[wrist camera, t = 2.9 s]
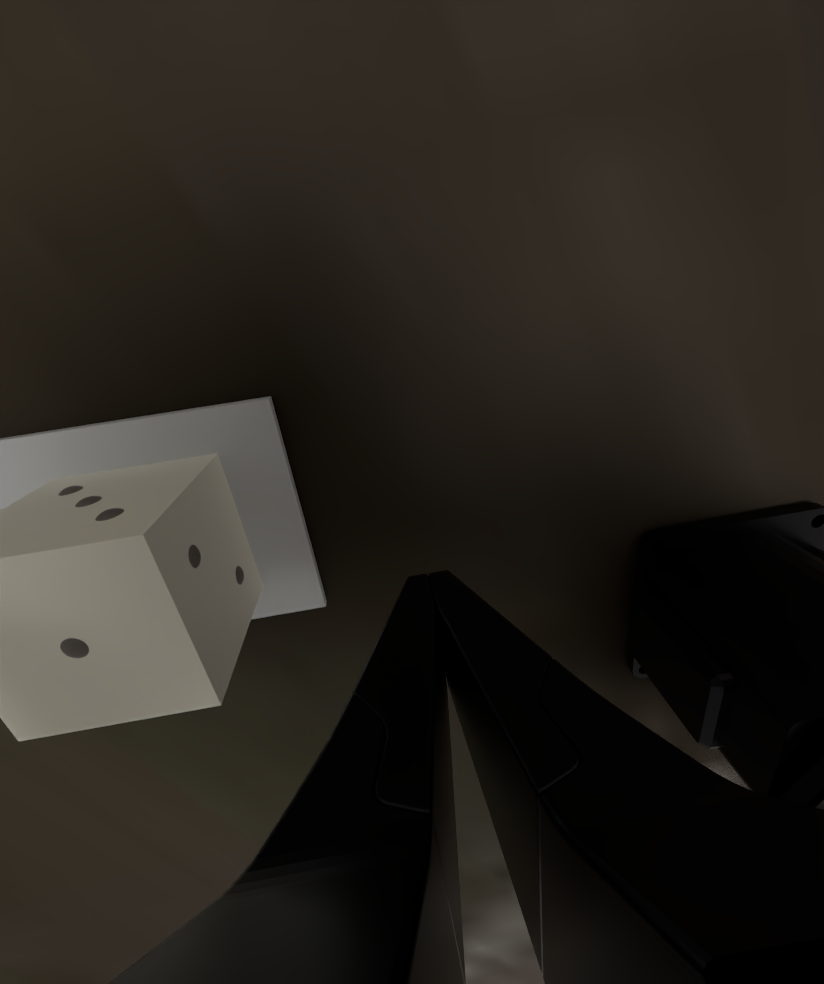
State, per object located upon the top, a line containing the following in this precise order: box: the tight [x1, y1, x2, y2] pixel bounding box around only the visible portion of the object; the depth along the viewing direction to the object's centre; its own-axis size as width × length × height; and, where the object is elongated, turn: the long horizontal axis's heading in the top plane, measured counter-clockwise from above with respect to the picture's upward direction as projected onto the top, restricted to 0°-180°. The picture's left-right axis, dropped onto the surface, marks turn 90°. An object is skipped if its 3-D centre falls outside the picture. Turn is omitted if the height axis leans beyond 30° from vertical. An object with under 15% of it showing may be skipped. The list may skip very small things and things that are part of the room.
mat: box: [0, 396, 327, 619], centre depth 13 cm, size 12×7×1 cm, turn 98°
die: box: [0, 453, 263, 741], centre depth 11 cm, size 5×5×5 cm
